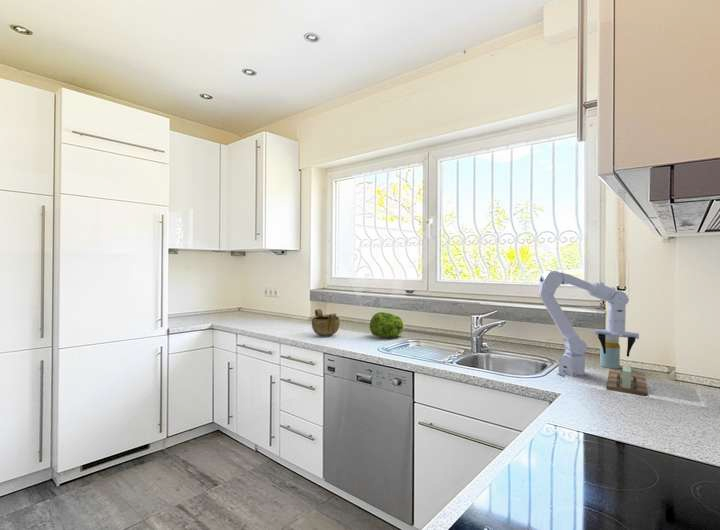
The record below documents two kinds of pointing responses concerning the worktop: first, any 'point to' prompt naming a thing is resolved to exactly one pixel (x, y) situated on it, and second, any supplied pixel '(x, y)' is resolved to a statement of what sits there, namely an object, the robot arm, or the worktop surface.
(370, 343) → the worktop surface
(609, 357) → the bottle
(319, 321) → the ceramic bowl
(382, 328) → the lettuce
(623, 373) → the door panel
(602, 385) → the worktop surface
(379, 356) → the worktop surface
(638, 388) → the hinge board
